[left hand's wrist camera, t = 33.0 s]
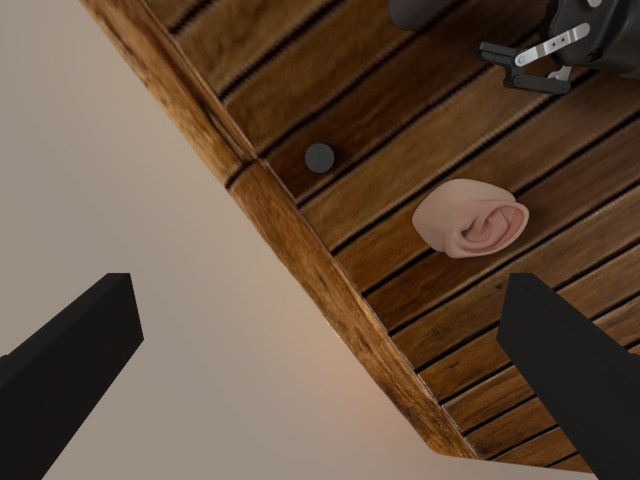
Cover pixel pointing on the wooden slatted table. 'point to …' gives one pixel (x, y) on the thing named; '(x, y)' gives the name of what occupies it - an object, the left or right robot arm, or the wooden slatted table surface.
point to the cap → (319, 157)
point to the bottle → (413, 11)
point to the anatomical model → (469, 218)
